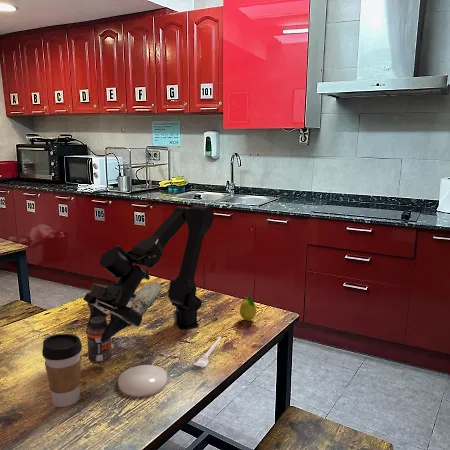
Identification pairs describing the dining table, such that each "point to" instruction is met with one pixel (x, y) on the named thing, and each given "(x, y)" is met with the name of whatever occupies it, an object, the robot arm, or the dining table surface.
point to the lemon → (248, 308)
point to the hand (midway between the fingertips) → (94, 337)
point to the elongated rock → (144, 297)
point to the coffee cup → (63, 367)
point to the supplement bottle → (98, 341)
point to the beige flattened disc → (142, 381)
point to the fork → (206, 355)
